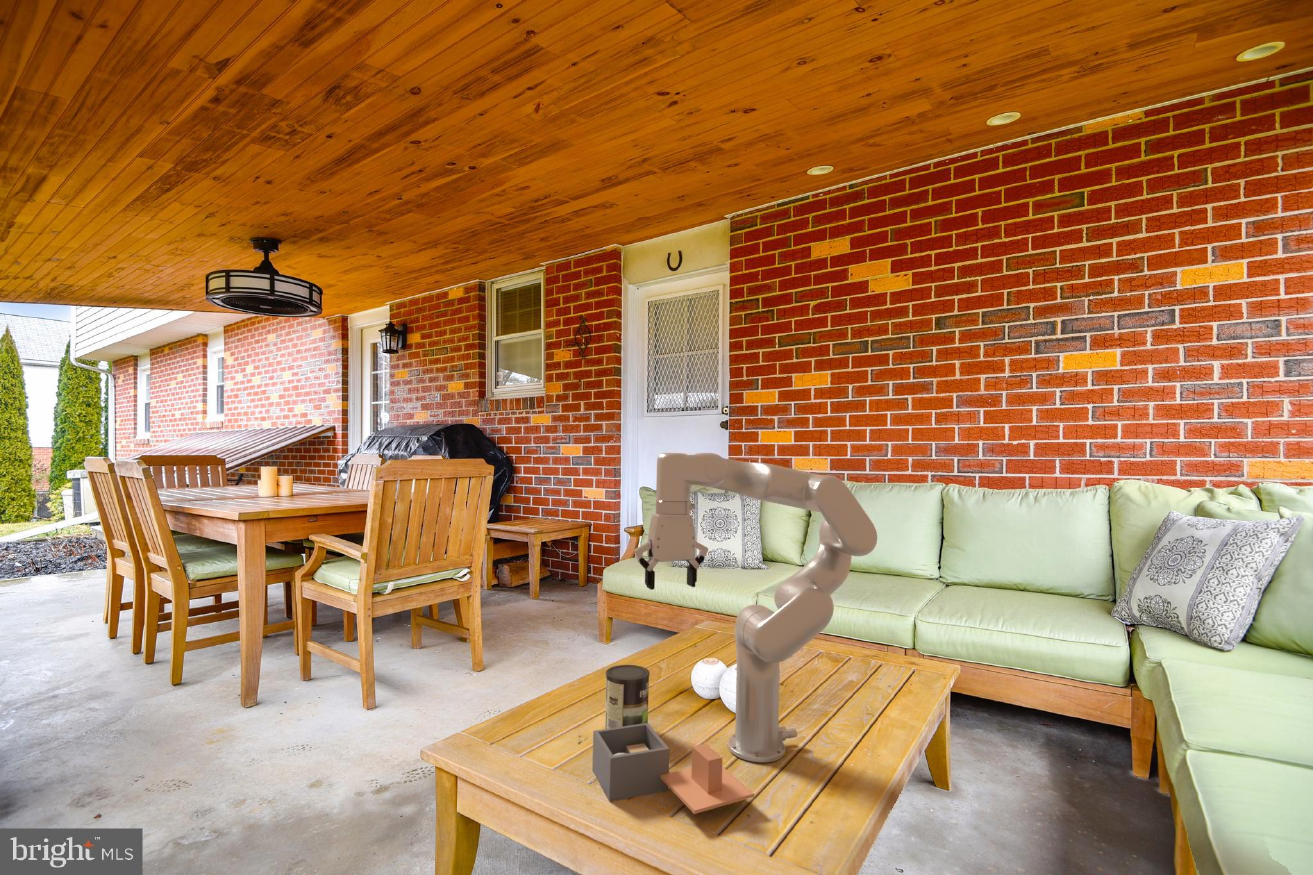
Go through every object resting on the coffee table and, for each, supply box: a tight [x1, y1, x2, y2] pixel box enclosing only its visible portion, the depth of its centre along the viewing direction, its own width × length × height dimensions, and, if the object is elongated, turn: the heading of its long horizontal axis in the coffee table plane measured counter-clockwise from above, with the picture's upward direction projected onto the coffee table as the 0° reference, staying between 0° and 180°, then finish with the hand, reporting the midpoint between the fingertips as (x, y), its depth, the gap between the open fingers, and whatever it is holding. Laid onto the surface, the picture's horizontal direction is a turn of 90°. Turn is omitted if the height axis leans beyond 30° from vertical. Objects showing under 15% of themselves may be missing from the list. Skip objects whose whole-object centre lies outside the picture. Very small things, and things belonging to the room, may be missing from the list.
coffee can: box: [604, 664, 650, 729], centre depth 142 cm, size 10×10×14 cm
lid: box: [661, 743, 755, 815], centre depth 114 cm, size 13×13×7 cm
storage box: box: [591, 722, 670, 802], centre depth 121 cm, size 12×12×8 cm
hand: (670, 587), depth 133 cm, fingers open, 9 cm apart
